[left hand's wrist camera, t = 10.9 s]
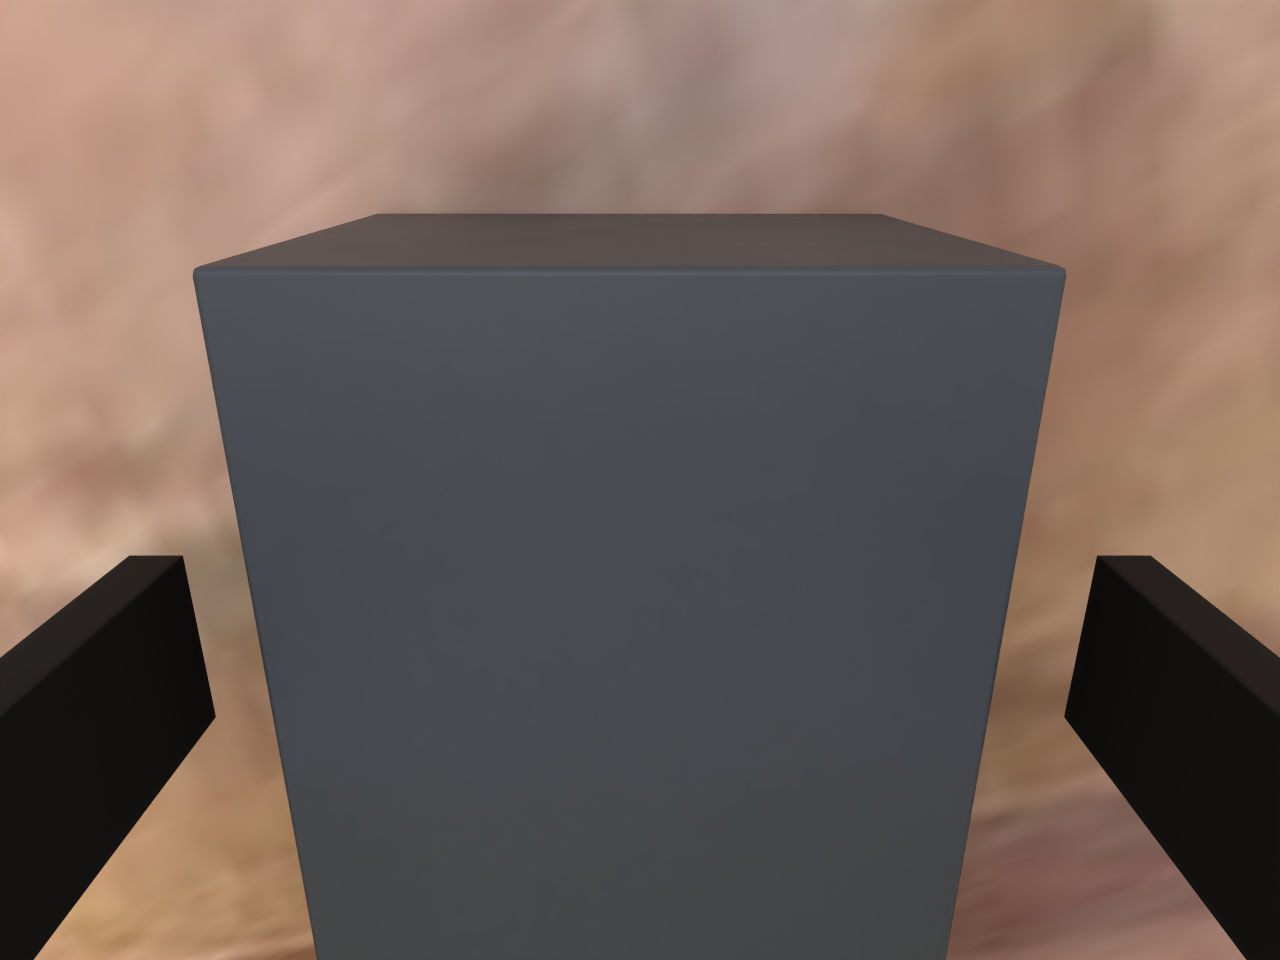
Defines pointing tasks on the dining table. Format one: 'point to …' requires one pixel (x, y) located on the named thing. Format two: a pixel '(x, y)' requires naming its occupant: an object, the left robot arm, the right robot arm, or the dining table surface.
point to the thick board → (630, 571)
